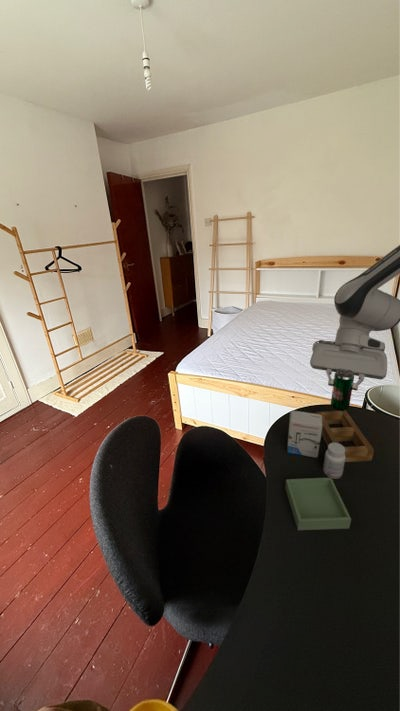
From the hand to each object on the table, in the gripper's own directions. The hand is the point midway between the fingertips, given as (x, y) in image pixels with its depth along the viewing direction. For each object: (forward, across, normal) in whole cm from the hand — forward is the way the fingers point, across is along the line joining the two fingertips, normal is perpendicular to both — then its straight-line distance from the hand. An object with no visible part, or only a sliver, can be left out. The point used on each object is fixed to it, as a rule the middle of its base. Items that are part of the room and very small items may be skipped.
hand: (342, 387), depth 85 cm
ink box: (+20, -8, +3) cm, 22 cm away
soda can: (+5, 0, +6) cm, 7 cm away
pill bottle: (+24, +1, 0) cm, 24 cm away
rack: (+14, +2, +10) cm, 17 cm away
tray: (+32, -1, -9) cm, 34 cm away
